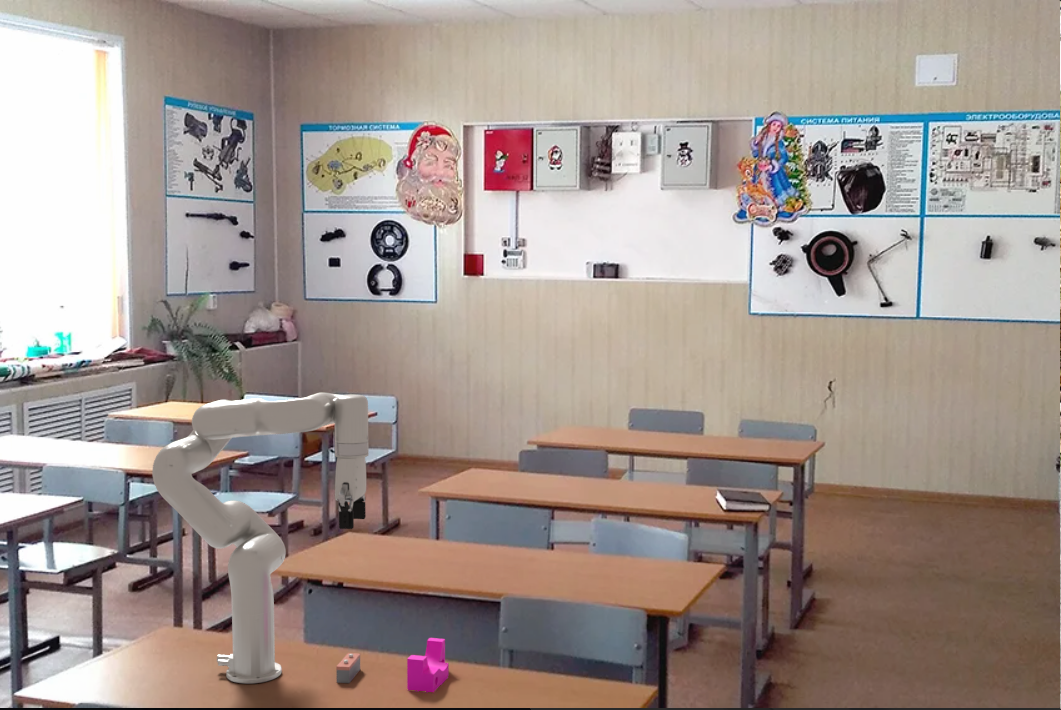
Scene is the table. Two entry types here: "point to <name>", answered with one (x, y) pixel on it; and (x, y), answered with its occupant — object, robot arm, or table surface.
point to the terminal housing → (348, 668)
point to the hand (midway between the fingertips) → (352, 523)
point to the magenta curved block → (428, 667)
